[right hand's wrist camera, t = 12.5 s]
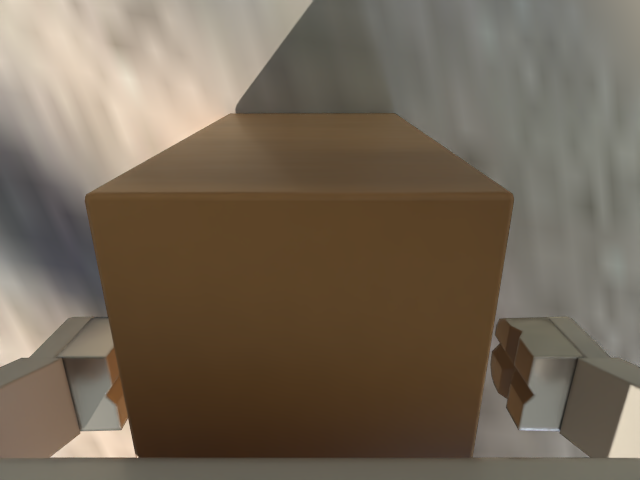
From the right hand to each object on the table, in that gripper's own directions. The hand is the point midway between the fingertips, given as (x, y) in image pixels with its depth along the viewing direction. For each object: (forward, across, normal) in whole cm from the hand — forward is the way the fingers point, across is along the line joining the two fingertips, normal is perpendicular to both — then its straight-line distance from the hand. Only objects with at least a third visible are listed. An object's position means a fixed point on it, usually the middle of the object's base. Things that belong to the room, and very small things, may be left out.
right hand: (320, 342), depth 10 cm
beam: (+5, 0, -27) cm, 27 cm away
